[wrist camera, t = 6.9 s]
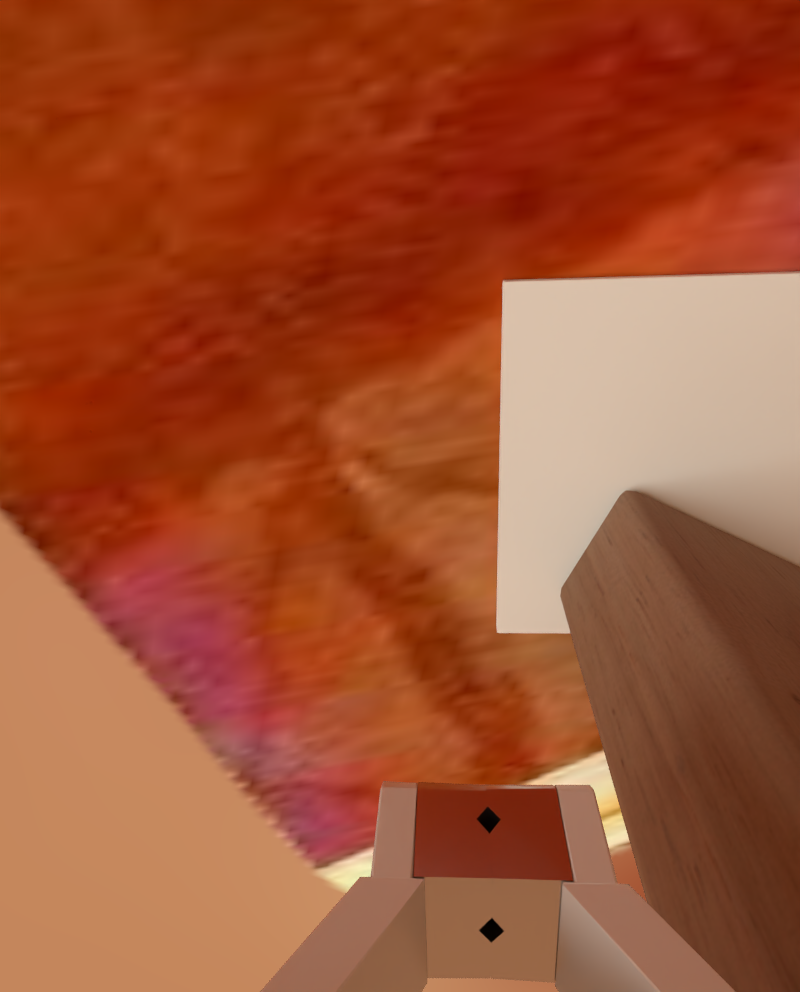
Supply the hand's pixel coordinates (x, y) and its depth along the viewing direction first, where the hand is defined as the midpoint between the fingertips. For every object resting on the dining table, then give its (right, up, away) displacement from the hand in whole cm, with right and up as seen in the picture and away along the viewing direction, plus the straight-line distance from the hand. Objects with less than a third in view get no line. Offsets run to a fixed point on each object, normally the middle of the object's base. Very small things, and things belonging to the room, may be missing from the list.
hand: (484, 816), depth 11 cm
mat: (+10, +6, +13) cm, 17 cm away
